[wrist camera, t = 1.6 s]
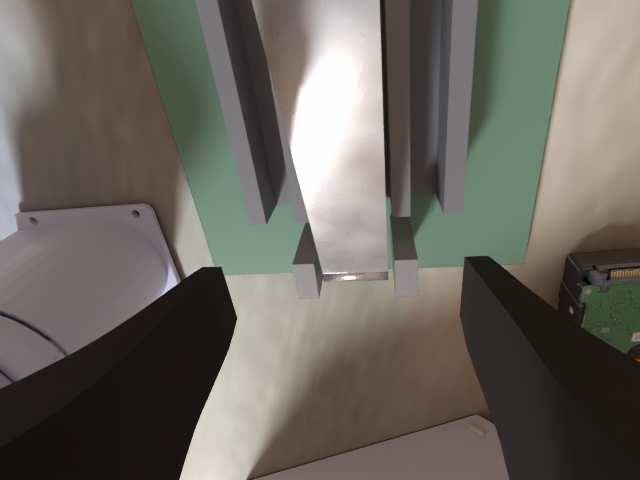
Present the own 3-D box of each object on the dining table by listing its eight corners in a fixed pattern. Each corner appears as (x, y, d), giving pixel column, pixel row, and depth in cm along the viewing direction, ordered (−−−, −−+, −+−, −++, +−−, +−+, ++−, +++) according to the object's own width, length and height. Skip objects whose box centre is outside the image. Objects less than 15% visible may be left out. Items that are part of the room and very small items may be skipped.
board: (221, 268, 24) (186, 326, 20) (90, -160, 14) (-42, -245, 10) (518, 256, 21) (560, 321, 17) (608, -289, 12) (769, -497, 7)
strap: (326, 270, 19) (325, 285, 18) (225, -136, 8) (215, -130, 7) (387, 268, 18) (388, 283, 18) (373, -169, 7) (374, -165, 7)
